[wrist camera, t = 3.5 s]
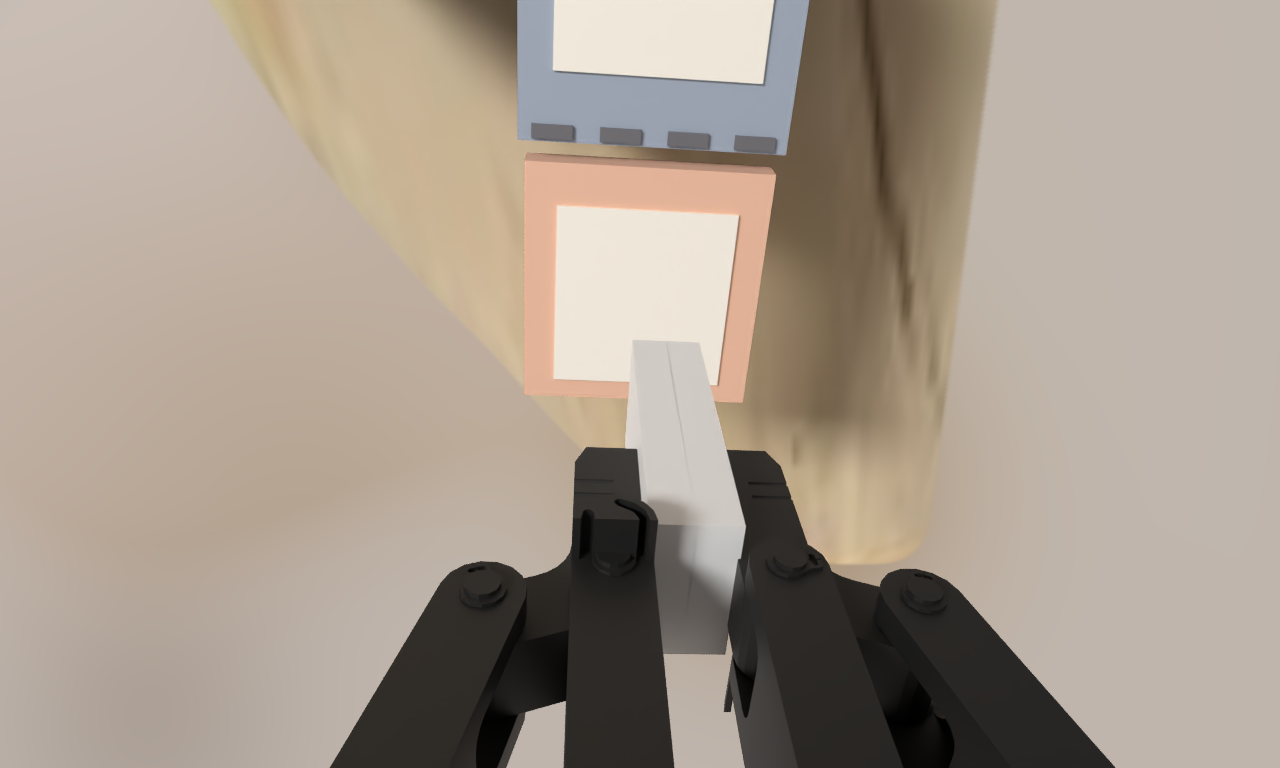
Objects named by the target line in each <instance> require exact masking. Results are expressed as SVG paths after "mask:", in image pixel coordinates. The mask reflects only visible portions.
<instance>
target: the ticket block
mask: <svg viewBox="0 0 1280 768" xmlns="http://www.w3.org/2000/svg"><path fill="white" fill-rule="evenodd" d="M808 6H809V0H517V69H518V140H533V141H550V142H567V143H584V144H601V145H618V146H635V147H652V148H669V149H686V150H703V151H720V152H737V153H754V154H771V155H786V151H787V144H788V138H789V131H790V125H791V118H792V111H793V105H794V98H795V92H796V85H797V78H798V72H799V65H800V59H801V52H802V45H803V39H804V32H805V26H806V19H807V13H808Z"/></svg>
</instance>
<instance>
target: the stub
mask: <svg viewBox="0 0 1280 768" xmlns="http://www.w3.org/2000/svg"><path fill="white" fill-rule="evenodd" d="M775 181H776V174H775V173H774V171H773V170H772V168H771V167H767V166H750V165H733V164H715V163H698V162H681V161H663V160H646V159H629V158H612V157H594V156H577V155H560V154H542V153H527V154H526V157H525V161H524V395H549V396H577V397H604V398H628V396H629V382H630V368H631V354H632V340H651V341H674V342H698V343H699V344H700V348H701V352H702V355H703V359H704V363H705V367H706V371H707V375H708V379H709V383H710V387H711V391H712V395H713V399H714V402H740V403H743V397H744V390H745V384H746V377H747V370H748V363H749V356H750V350H751V343H752V336H753V329H754V323H755V316H756V309H757V302H758V296H759V289H760V282H761V275H762V269H763V262H764V255H765V248H766V241H767V235H768V228H769V221H770V214H771V208H772V201H773V194H774V187H775Z"/></svg>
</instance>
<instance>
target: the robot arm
mask: <svg viewBox="0 0 1280 768" xmlns="http://www.w3.org/2000/svg"><path fill="white" fill-rule="evenodd" d="M728 634H729V636H730V641H731V646H732V652H733V655H732V661H731V667H730V673H729V678H728V685H727V690H726V697H725V704H724V712H731V706H732V701H733V703H734V709H735V714H736V720H737V725H738V731H739V737H740V743H741V748H742V754H743V760H744V765H745V768H1115V767H1114V766H1113V764H1112V763H1111V762H1110V761H1109V760H1108V759H1107V758H1106V756H1105V755H1104V754H1103V753H1102V752H1101V751H1100V750H1099V749H1098V747H1097V746H1096V745H1095V744H1094V743H1093V742H1092V741H1091V740H1090V738H1089V737H1088V736H1087V735H1086V734H1085V733H1084V732H1083V731H1082V729H1081V728H1080V727H1079V726H1078V725H1077V724H1076V723H1075V721H1074V720H1073V719H1072V718H1071V717H1070V716H1069V715H1068V713H1066V711H1065V710H1064V709H1063V708H1062V707H1061V706H1060V704H1059V703H1058V702H1057V701H1056V700H1055V699H1054V698H1053V696H1052V695H1051V694H1050V693H1049V692H1048V691H1047V690H1046V689H1045V688H1044V686H1043V685H1042V684H1041V683H1040V682H1039V681H1038V680H1037V678H1036V677H1035V676H1034V675H1033V674H1032V673H1031V672H1030V670H1029V669H1028V668H1027V667H1026V666H1025V665H1024V664H1023V663H1022V661H1021V660H1020V659H1019V658H1018V657H1017V656H1016V655H1015V654H1014V653H1013V651H1012V650H1011V649H1010V648H1009V647H1008V646H1007V645H1006V643H1005V642H1004V641H1003V640H1002V639H1001V638H1000V637H999V635H998V634H997V633H996V632H995V631H994V630H993V629H992V627H991V626H990V625H989V624H988V623H987V622H986V621H985V620H984V618H983V617H982V616H981V615H980V614H979V613H978V612H977V610H976V609H975V608H974V607H973V606H972V605H971V604H970V603H969V601H968V600H967V599H966V598H965V597H964V596H963V595H962V593H961V592H960V591H959V590H958V589H956V588H955V587H954V586H953V585H951V584H950V583H949V582H948V581H947V580H945V579H943V578H941V577H939V576H937V575H935V574H933V573H930V572H926V571H921V570H918V569H899V570H896V571H893V572H890V573H888V574H887V575H886V576H885V577H884V579H883V580H882V581H881V584H880V587H878V586H874V585H870V584H866V583H862V582H858V581H854V580H851V579H848V578H845V577H842V576H839V575H838V574H835V573H833V572H832V571H831V568H830V566H829V564H828V562H827V561H826V559H825V558H824V556H823V555H822V554H821V553H819V552H818V551H817V550H815V549H814V548H813V547H811V546H809V545H808V544H807V541H806V538H805V535H804V532H803V529H802V527H801V524H800V521H799V518H798V515H797V512H796V509H795V506H794V504H793V501H792V500H791V495H790V492H789V489H788V486H786V480H785V478H784V475H783V472H782V469H781V466H780V465H779V464H778V463H777V462H776V461H775V460H774V459H773V458H772V457H770V456H769V455H768V454H767V453H766V452H765V451H742V450H726V446H725V442H724V438H723V434H722V430H721V426H720V422H719V419H718V415H717V411H716V407H715V403H714V399H713V395H712V391H711V387H710V383H709V379H708V375H707V371H706V367H705V363H704V359H703V355H702V352H701V348H700V344H699V343H698V342H674V341H651V340H632V354H631V368H630V382H629V396H628V409H627V423H626V437H625V448H596V447H586V448H585V450H584V451H583V452H582V453H581V455H580V456H579V457H578V459H577V460H576V462H575V478H574V504H573V529H572V546H571V550H570V553H569V555H568V556H567V558H566V559H565V560H564V561H563V562H562V563H561V564H560V565H559V566H558V567H556V568H554V569H552V570H550V571H548V572H546V573H543V574H539V575H536V576H532V577H528V578H523V576H522V575H521V574H520V573H518V572H517V571H516V570H515V569H514V568H512V567H510V566H507V565H504V564H501V563H498V562H483V561H480V562H476V563H471V564H466V565H463V566H461V567H459V568H458V569H456V570H454V571H452V572H450V573H449V574H448V575H447V576H446V578H445V579H444V580H443V581H442V582H441V583H440V585H439V586H438V588H437V590H436V591H435V593H434V595H433V596H432V598H431V600H430V602H429V603H428V605H427V607H426V608H425V610H424V612H423V613H422V615H421V617H420V618H419V620H418V622H417V623H416V625H415V627H414V629H413V630H412V632H411V633H410V635H409V637H408V638H407V640H406V642H405V643H404V645H403V647H402V648H401V650H400V652H399V653H398V655H397V657H396V658H395V660H394V662H393V663H392V665H391V667H390V668H389V670H388V672H387V673H386V675H385V677H384V678H383V680H382V682H381V683H380V685H379V687H378V688H377V690H376V692H375V694H374V695H373V697H372V698H371V700H370V702H369V703H368V705H367V707H366V708H365V710H364V712H363V713H362V715H361V717H360V718H359V720H358V722H357V723H356V725H355V727H354V728H353V730H352V732H351V733H350V735H349V737H348V739H347V740H346V742H345V744H344V745H343V747H342V748H341V750H340V752H339V753H338V755H337V757H336V758H335V760H334V762H333V763H332V765H331V767H330V768H506V767H507V764H508V761H509V759H510V756H511V754H512V751H513V748H514V745H515V743H516V741H517V738H518V735H519V733H520V730H521V728H522V725H523V722H524V719H525V712H527V711H531V710H535V709H538V708H542V707H545V706H549V705H552V704H556V703H560V702H563V701H566V716H565V745H564V768H674V760H673V750H672V739H671V729H670V719H669V708H668V699H667V688H666V678H665V668H664V657H663V654H724V655H725V652H726V646H727V640H728Z"/></svg>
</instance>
